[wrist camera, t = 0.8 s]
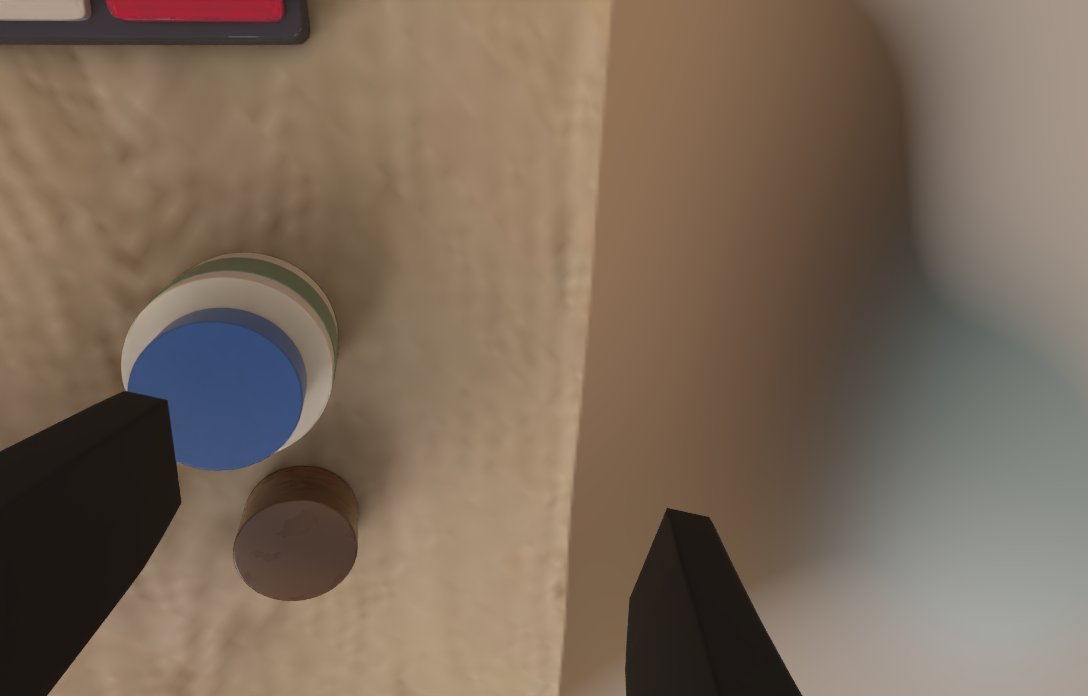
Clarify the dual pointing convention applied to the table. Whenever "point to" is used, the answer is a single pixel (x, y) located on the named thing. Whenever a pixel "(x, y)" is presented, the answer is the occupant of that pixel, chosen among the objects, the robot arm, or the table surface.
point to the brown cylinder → (297, 534)
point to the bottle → (235, 358)
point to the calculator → (154, 22)
